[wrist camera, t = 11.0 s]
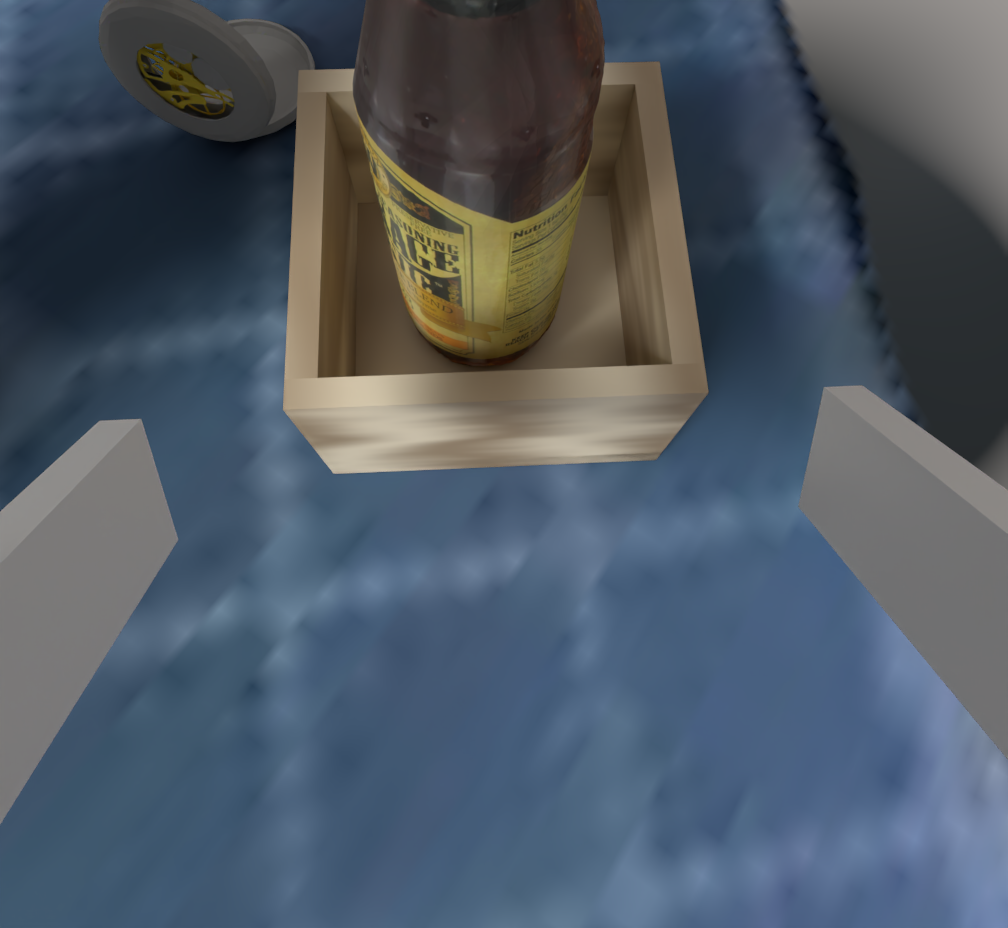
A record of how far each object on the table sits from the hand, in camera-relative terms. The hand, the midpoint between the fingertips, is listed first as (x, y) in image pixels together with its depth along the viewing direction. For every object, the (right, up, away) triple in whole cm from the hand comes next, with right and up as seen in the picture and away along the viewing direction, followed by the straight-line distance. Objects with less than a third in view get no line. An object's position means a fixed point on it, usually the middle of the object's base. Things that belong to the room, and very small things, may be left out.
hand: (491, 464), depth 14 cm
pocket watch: (-12, +17, +19) cm, 28 cm away
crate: (0, +6, +16) cm, 17 cm away
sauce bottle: (-1, +6, +15) cm, 16 cm away
